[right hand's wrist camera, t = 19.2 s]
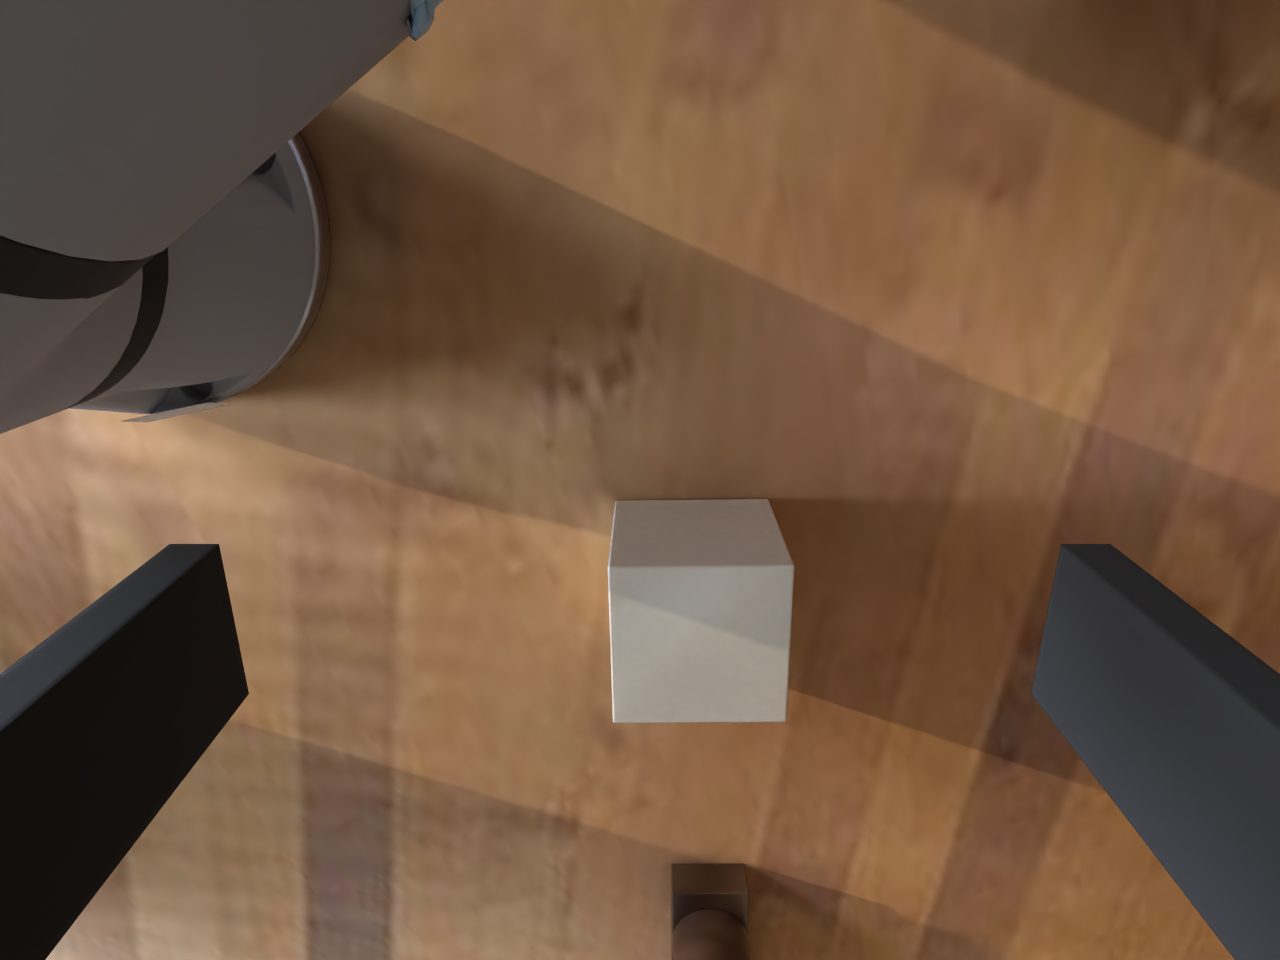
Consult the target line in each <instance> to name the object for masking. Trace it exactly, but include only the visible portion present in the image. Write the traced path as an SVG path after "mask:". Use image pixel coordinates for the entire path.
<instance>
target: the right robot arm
mask: <svg viewBox="0 0 1280 960" xmlns="http://www.w3.org/2000/svg"><path fill="white" fill-rule="evenodd" d="M442 1H443V0H0V434H1V433H4V432H7V431H9V430H12V429H15V428H17V427H20V426H23V425H25V424H28V423H31V422H33V421H36V420H39V419H41V418H44V417H47V416H49V415H52V414H55V413H57V412H60V411H62V410H65V409H68V408H71V409H84V410H98V411H111V412H125V413H138V414H152V415H147V416H142V417H138V418H133V419H128V420H124V421H123V422H151V421H156V420H160V419H165V418H170V417H174V416H179V415H184V414H188V413H193V412H198V411H202V410H207V409H212V408H216V407H221V406H226V405H230V404H221V403H217V402H220V401H222V400H224V399H227V398H229V397H231V396H233V395H235V394H237V393H239V392H241V391H244V390H246V389H248V388H250V387H252V386H254V385H255V384H257V383H258V382H260V381H262V380H263V379H265V378H266V377H268V376H269V375H270V374H272V373H273V372H274V371H275V370H277V369H278V368H279V367H280V366H281V365H282V364H283V363H284V362H285V361H286V360H287V359H288V358H289V357H290V356H291V355H292V354H293V353H294V351H295V350H296V349H297V348H298V346H299V345H300V344H301V342H302V341H303V339H304V338H305V336H306V335H307V333H308V331H309V330H310V328H311V326H312V324H313V322H314V320H315V318H316V316H317V313H318V310H319V307H320V305H321V302H322V299H323V295H324V291H325V287H326V283H327V277H328V270H329V261H330V232H329V222H328V215H327V208H326V203H325V199H324V195H323V191H322V187H321V184H320V181H319V178H318V175H317V172H316V169H315V166H314V164H313V161H312V159H311V157H310V154H309V152H308V150H307V148H306V146H305V144H304V142H303V140H302V138H301V136H300V134H299V133H298V132H299V131H301V130H302V129H303V128H304V127H305V126H306V125H307V124H309V123H310V122H311V121H312V120H313V119H314V118H315V117H317V116H318V115H319V114H320V113H321V112H322V111H323V110H325V109H326V108H327V107H328V106H329V105H330V104H331V103H333V102H334V101H335V100H336V99H337V98H338V97H339V96H341V95H342V94H343V93H344V92H345V91H346V90H347V89H349V88H350V87H351V86H352V85H353V84H354V83H355V82H357V81H358V80H359V79H360V78H361V77H362V76H363V75H365V74H366V73H367V72H368V71H369V70H370V69H371V68H373V67H374V66H375V65H376V64H377V63H378V62H379V61H381V60H382V59H383V58H384V57H385V56H386V55H387V54H389V53H390V52H391V51H392V50H393V49H394V48H395V47H397V46H398V45H399V44H400V43H401V42H402V41H403V40H405V39H406V38H407V37H408V36H410V37H411V38H412V39H414V40H415V41H416V40H418V39H419V38H420V37H421V36H422V35H423V34H424V33H426V32H427V31H428V30H429V28H430V26H431V24H432V22H433V20H434V9H435V8H436V7H437V6H438V5H439V4H440V3H441V2H442ZM248 694H249V692H248V687H247V682H246V677H245V672H244V667H243V662H242V657H241V652H240V647H239V642H238V637H237V632H236V627H235V622H234V617H233V612H232V607H231V602H230V597H229V592H228V587H227V582H226V577H225V572H224V567H223V562H222V557H221V552H220V547H219V544H169V545H168V546H167V547H165V548H164V549H163V550H161V551H160V552H159V553H158V554H156V555H155V556H154V557H152V558H151V559H150V560H148V561H147V562H146V563H145V564H143V565H142V566H141V567H139V568H138V569H137V570H135V571H134V572H133V573H132V574H130V575H129V576H128V577H126V578H125V579H124V580H122V581H121V582H120V583H119V584H117V585H116V586H115V587H113V588H112V589H111V590H109V591H108V592H107V593H106V594H104V595H103V596H102V597H100V598H99V599H98V600H96V601H95V602H94V603H92V604H91V605H90V606H89V607H87V608H86V609H85V610H83V611H82V612H81V613H79V614H78V615H77V616H76V617H74V618H73V619H72V620H70V621H69V622H68V623H66V624H65V625H64V626H63V627H61V628H60V629H59V630H57V631H56V632H55V633H53V634H52V635H51V636H50V637H48V638H47V639H46V640H44V641H43V642H42V643H40V644H39V645H38V646H37V647H35V648H34V649H33V650H31V651H30V652H29V653H27V654H26V655H25V656H24V657H22V658H21V659H20V660H18V661H17V662H16V663H14V664H13V665H12V666H10V667H9V668H8V669H7V670H5V671H4V672H3V673H1V674H0V960H45V959H46V958H47V957H48V955H49V954H50V953H51V951H52V950H53V949H54V947H55V946H56V945H57V944H58V942H59V941H60V940H61V938H62V937H63V936H64V934H65V933H66V932H67V931H68V929H69V928H70V927H71V925H72V924H73V923H74V921H75V920H76V919H77V917H78V916H79V915H80V914H81V912H82V911H83V910H84V908H85V907H86V906H87V904H88V903H89V902H90V900H91V899H92V898H93V897H94V895H95V894H96V893H97V891H98V890H99V889H100V887H101V886H102V885H103V884H104V882H105V881H106V880H107V878H108V877H109V876H110V874H111V873H112V872H113V870H114V869H115V868H116V867H117V865H118V864H119V863H120V861H121V860H122V859H123V857H124V856H125V855H126V853H127V852H128V851H129V850H130V848H131V847H132V846H133V844H134V843H135V842H136V840H137V839H138V838H139V836H140V835H141V834H142V833H143V831H144V830H145V829H146V827H147V826H148V825H149V823H150V822H151V821H152V820H153V818H154V817H155V816H156V814H157V813H158V812H159V810H160V809H161V808H162V806H163V805H164V804H165V803H166V801H167V800H168V799H169V797H170V796H171V795H172V793H173V792H174V791H175V789H176V788H177V787H178V786H179V784H180V783H181V782H182V780H183V779H184V778H185V776H186V775H187V774H188V773H189V771H190V770H191V769H192V767H193V766H194V765H195V763H196V762H197V761H198V759H199V758H200V757H201V756H202V754H203V753H204V752H205V750H206V749H207V748H208V746H209V745H210V744H211V742H212V741H213V740H214V739H215V737H216V736H217V735H218V733H219V732H220V731H221V729H222V728H223V727H224V725H225V724H226V723H227V722H228V720H229V719H230V718H231V716H232V715H233V714H234V712H235V711H236V710H237V709H238V707H239V706H240V705H241V703H242V702H243V701H244V699H245V698H246V697H247V695H248ZM1031 694H1032V695H1033V697H1034V698H1035V699H1036V701H1037V702H1038V703H1039V705H1040V706H1041V707H1042V709H1043V710H1044V711H1045V712H1046V714H1047V715H1048V716H1049V718H1050V719H1051V720H1052V722H1053V723H1054V724H1055V725H1056V727H1057V728H1058V729H1059V731H1060V732H1061V733H1062V735H1063V736H1064V737H1065V739H1066V740H1067V741H1068V742H1069V744H1070V745H1071V746H1072V748H1073V749H1074V750H1075V752H1076V753H1077V754H1078V756H1079V757H1080V758H1081V759H1082V761H1083V762H1084V763H1085V765H1086V766H1087V767H1088V769H1089V770H1090V771H1091V773H1092V774H1093V775H1094V776H1095V778H1096V779H1097V780H1098V782H1099V783H1100V784H1101V786H1102V787H1103V788H1104V789H1105V791H1106V792H1107V793H1108V795H1109V796H1110V797H1111V799H1112V800H1113V801H1114V803H1115V804H1116V805H1117V806H1118V808H1119V809H1120V810H1121V812H1122V813H1123V814H1124V816H1125V817H1126V818H1127V820H1128V821H1129V822H1130V823H1131V825H1132V826H1133V827H1134V829H1135V830H1136V831H1137V833H1138V834H1139V835H1140V836H1141V838H1142V839H1143V840H1144V842H1145V843H1146V844H1147V846H1148V847H1149V848H1150V850H1151V851H1152V852H1153V853H1154V855H1155V856H1156V857H1157V859H1158V860H1159V861H1160V863H1161V864H1162V865H1163V867H1164V868H1165V869H1166V870H1167V872H1168V873H1169V874H1170V876H1171V877H1172V878H1173V880H1174V881H1175V882H1176V884H1177V885H1178V886H1179V887H1180V889H1181V890H1182V891H1183V893H1184V894H1185V895H1186V897H1187V898H1188V899H1189V900H1190V902H1191V903H1192V904H1193V906H1194V907H1195V908H1196V910H1197V911H1198V912H1199V914H1200V915H1201V916H1202V917H1203V919H1204V920H1205V921H1206V923H1207V924H1208V925H1209V927H1210V928H1211V929H1212V931H1213V932H1214V933H1215V934H1216V936H1217V937H1218V938H1219V940H1220V941H1221V942H1222V944H1223V945H1224V946H1225V947H1226V949H1227V950H1228V951H1229V953H1230V954H1231V955H1232V957H1233V958H1234V959H1235V960H1280V674H1279V673H1277V672H1276V671H1275V670H1273V669H1272V668H1271V667H1270V666H1268V665H1267V664H1266V663H1264V662H1263V661H1262V660H1260V659H1259V658H1258V657H1256V656H1255V655H1254V654H1253V653H1251V652H1250V651H1249V650H1247V649H1246V648H1245V647H1243V646H1242V645H1241V644H1240V643H1238V642H1237V641H1236V640H1234V639H1233V638H1232V637H1230V636H1229V635H1228V634H1227V633H1225V632H1224V631H1223V630H1221V629H1220V628H1219V627H1217V626H1216V625H1215V624H1214V623H1212V622H1211V621H1210V620H1208V619H1207V618H1206V617H1204V616H1203V615H1202V614H1201V613H1199V612H1198V611H1197V610H1195V609H1194V608H1193V607H1191V606H1190V605H1189V604H1188V603H1186V602H1185V601H1184V600H1182V599H1181V598H1180V597H1178V596H1177V595H1176V594H1174V593H1173V592H1172V591H1171V590H1169V589H1168V588H1167V587H1165V586H1164V585H1163V584H1161V583H1160V582H1159V581H1158V580H1156V579H1155V578H1154V577H1152V576H1151V575H1150V574H1148V573H1147V572H1146V571H1145V570H1143V569H1142V568H1141V567H1139V566H1138V565H1137V564H1135V563H1134V562H1133V561H1132V560H1130V559H1129V558H1128V557H1126V556H1125V555H1124V554H1122V553H1121V552H1120V551H1119V550H1117V549H1116V548H1115V547H1113V546H1112V545H1111V544H1061V547H1060V552H1059V557H1058V562H1057V567H1056V572H1055V577H1054V582H1053V587H1052V592H1051V597H1050V602H1049V607H1048V612H1047V617H1046V622H1045V627H1044V632H1043V637H1042V642H1041V647H1040V652H1039V657H1038V662H1037V667H1036V672H1035V677H1034V682H1033V687H1032V692H1031Z"/></svg>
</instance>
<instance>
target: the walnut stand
mask: <svg viewBox="0 0 1280 960" xmlns="http://www.w3.org/2000/svg"><path fill="white" fill-rule="evenodd" d="M748 903H749V891H748V884H747V877H746V870H745V865H744V864H672V865H671V946H672V960H751V957H750V950H749V943H748V935H747V929H748Z"/></svg>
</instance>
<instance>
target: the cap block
mask: <svg viewBox="0 0 1280 960" xmlns="http://www.w3.org/2000/svg"><path fill="white" fill-rule="evenodd" d="M794 567H795V566H794V564H793V561H792V559H791V556H790V554H789V551H788V549H787V546H786V543H785V541H784V538H783V536H782V533H781V531H780V528H779V525H778V523H777V520H776V518H775V515H774V513H773V510H772V508H771V505H770V502H769V500H768V499H717V500H631V501H615V506H614V516H613V525H612V534H611V543H610V552H609V561H608V592H609V622H610V652H611V682H612V713H613V722H614V723H708V722H785V721H786V717H787V698H788V679H789V661H790V642H791V623H792V605H793V586H794Z"/></svg>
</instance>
